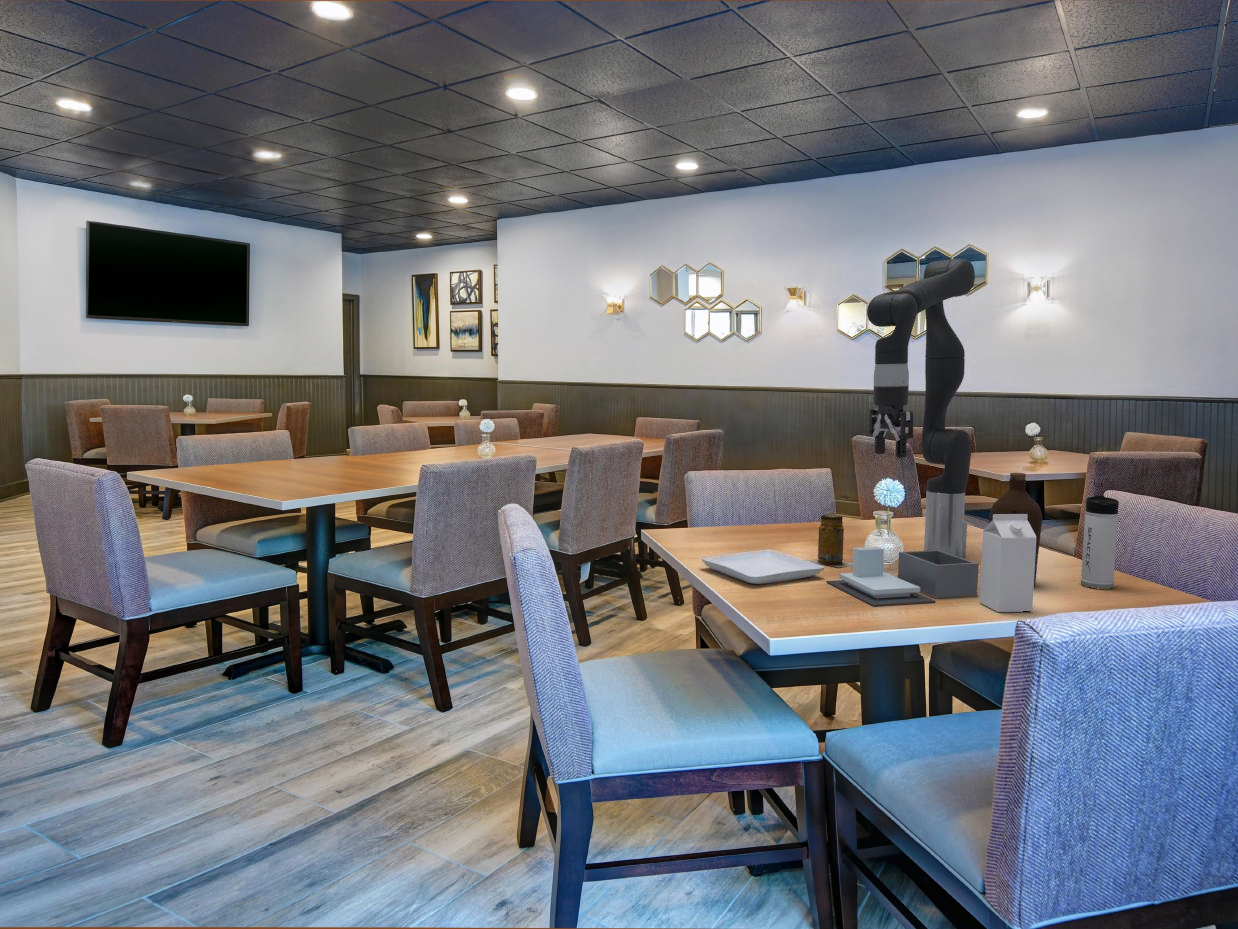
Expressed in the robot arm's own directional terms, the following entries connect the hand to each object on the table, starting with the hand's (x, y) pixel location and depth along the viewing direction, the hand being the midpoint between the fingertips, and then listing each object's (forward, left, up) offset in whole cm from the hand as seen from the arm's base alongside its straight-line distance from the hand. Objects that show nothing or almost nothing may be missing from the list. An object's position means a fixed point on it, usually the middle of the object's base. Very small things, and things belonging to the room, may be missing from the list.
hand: (890, 455), depth 185 cm
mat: (+9, +12, -28) cm, 32 cm away
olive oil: (-25, +11, -29) cm, 40 cm away
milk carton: (-10, +28, -29) cm, 41 cm away
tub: (-5, +12, -28) cm, 31 cm away
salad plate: (+27, -9, -29) cm, 40 cm away
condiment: (+5, -16, -29) cm, 33 cm away
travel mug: (-42, +17, -29) cm, 54 cm away
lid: (+9, +12, -28) cm, 31 cm away
